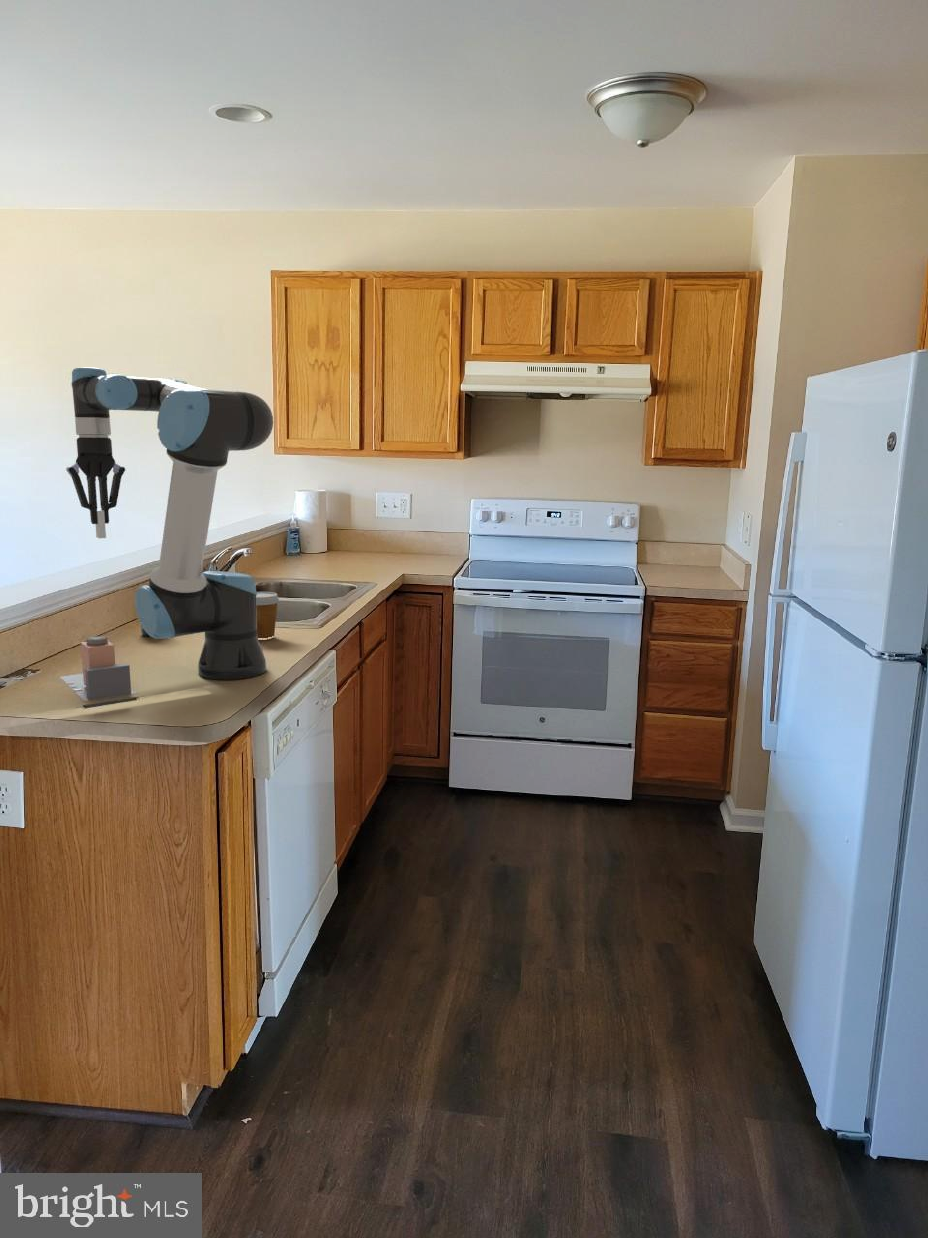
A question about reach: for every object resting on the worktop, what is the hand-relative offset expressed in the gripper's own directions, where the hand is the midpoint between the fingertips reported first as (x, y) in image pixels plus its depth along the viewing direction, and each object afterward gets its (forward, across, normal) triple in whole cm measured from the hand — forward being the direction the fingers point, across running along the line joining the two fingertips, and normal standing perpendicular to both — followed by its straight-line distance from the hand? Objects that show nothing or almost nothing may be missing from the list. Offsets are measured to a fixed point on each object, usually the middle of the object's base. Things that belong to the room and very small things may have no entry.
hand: (101, 537), depth 205 cm
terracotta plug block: (+28, +11, +33) cm, 44 cm away
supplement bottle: (+29, -16, -18) cm, 38 cm away
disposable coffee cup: (+29, -39, +2) cm, 49 cm away
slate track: (+29, +11, +30) cm, 43 cm away
